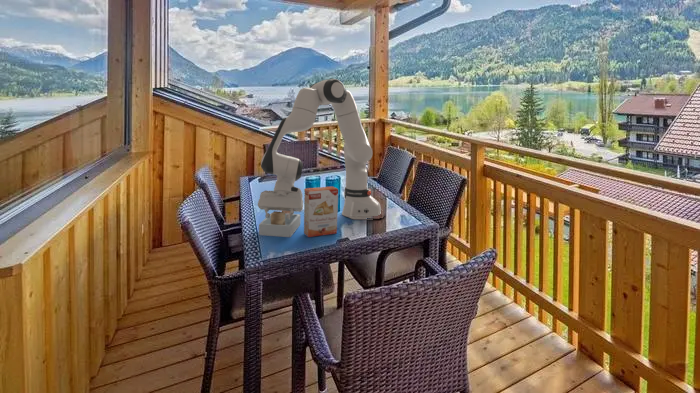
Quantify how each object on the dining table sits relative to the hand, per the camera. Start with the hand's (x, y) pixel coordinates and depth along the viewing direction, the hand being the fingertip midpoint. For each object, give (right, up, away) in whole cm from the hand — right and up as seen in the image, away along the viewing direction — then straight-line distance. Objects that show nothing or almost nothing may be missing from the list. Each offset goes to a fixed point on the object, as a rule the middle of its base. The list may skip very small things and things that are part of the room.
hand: (277, 218), depth 178 cm
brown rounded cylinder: (+1, -2, +20) cm, 20 cm away
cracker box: (+19, -7, +2) cm, 20 cm away
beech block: (0, -6, +2) cm, 6 cm away
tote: (0, -6, +6) cm, 8 cm away
